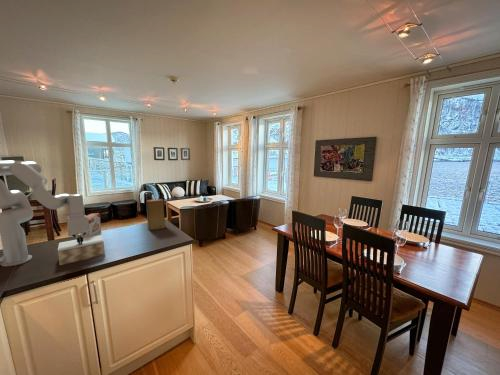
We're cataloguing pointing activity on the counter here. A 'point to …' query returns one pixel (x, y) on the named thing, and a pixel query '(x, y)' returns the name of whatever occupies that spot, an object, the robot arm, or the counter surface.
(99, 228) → the cracker box
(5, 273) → the counter surface
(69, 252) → the storage box
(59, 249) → the lid
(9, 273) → the counter surface
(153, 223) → the food packaging
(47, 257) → the counter surface
